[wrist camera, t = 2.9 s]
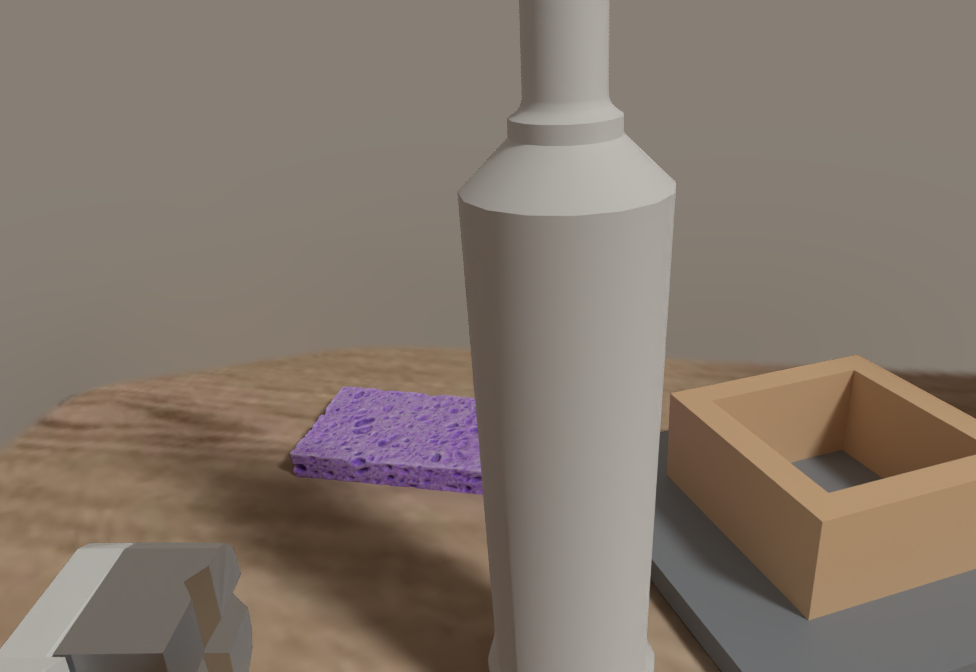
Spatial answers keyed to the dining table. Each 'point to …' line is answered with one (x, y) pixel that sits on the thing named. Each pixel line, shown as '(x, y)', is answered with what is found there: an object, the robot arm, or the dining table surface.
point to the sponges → (394, 441)
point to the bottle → (568, 355)
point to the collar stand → (820, 522)
